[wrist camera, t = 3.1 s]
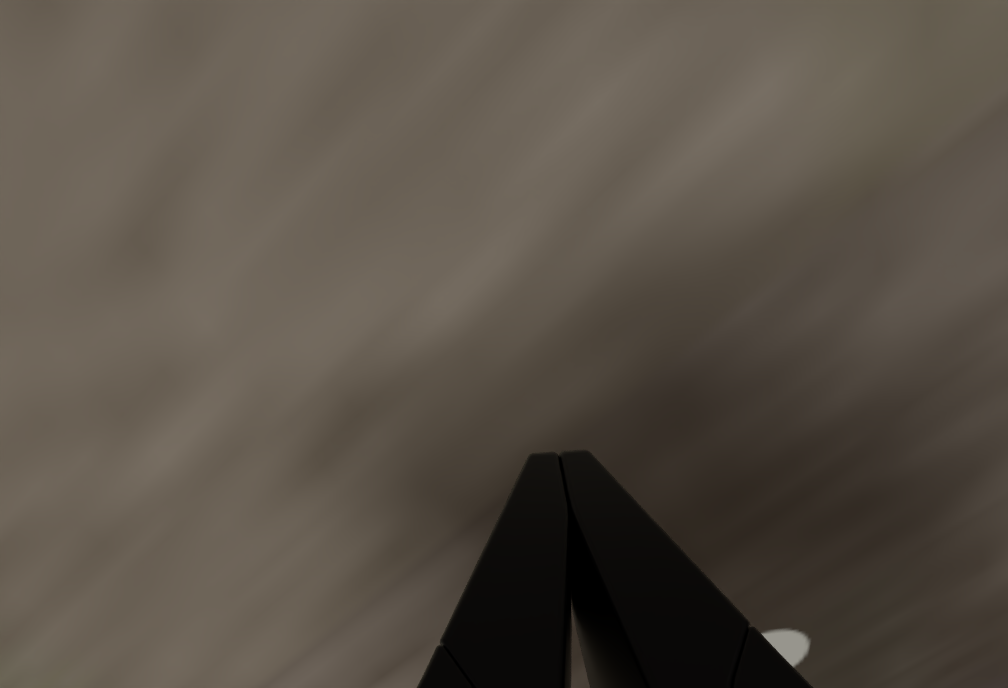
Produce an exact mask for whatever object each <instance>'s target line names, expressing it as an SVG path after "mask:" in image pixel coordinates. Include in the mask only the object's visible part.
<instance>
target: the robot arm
mask: <svg viewBox="0 0 1008 688" xmlns="http://www.w3.org/2000/svg"><path fill="white" fill-rule="evenodd" d="M571 603H572V610H573V615H574V620H575V625H576V630H577V634H578V638H579V642H580V646H581V651H582V655H583V659H584V663H585V668H586V672H587V676H588V680H589V684H590V688H813V687H812V686H811V685H810V684H809V683H808V682H807V681H806V680H805V679H804V678H803V677H802V676H801V675H800V674H799V673H798V672H797V671H796V670H795V669H794V668H793V667H792V666H791V665H790V664H789V663H788V662H787V661H786V660H785V659H784V658H783V657H782V656H781V655H780V654H779V652H778V651H777V650H776V649H775V648H774V647H773V646H772V645H771V644H770V643H769V642H768V641H767V640H766V639H765V638H764V636H763V635H762V634H761V633H760V632H759V631H758V630H757V629H756V628H755V627H749V625H750V624H749V621H748V620H747V619H746V618H745V617H744V615H743V614H742V613H741V612H740V611H739V610H738V609H737V608H736V607H735V606H734V605H733V604H732V603H731V602H730V601H729V600H728V598H727V597H726V596H725V595H724V594H723V593H722V592H721V591H720V590H719V589H718V588H717V587H716V586H715V585H714V584H713V583H712V581H711V580H710V579H709V578H708V577H707V576H706V575H705V574H704V573H703V572H702V571H701V570H700V569H699V568H698V567H697V566H696V564H695V563H694V562H693V561H692V560H691V559H690V558H689V557H688V556H687V555H686V554H685V553H684V552H683V551H682V550H681V548H680V547H679V546H678V545H677V544H676V543H675V542H674V541H673V540H672V539H671V538H670V537H669V536H668V535H667V534H666V533H665V531H664V530H663V529H662V528H661V527H660V526H659V525H658V524H657V523H656V522H655V521H654V520H653V519H652V518H651V517H650V516H649V514H648V513H647V512H646V511H645V510H644V509H643V508H642V507H641V506H640V505H639V504H638V503H637V502H636V501H635V500H634V499H633V497H632V496H631V495H630V494H629V493H628V492H627V491H626V490H625V489H624V488H623V487H622V486H621V485H620V484H619V483H618V482H617V480H616V479H615V478H614V477H613V476H612V475H611V474H610V473H609V472H608V471H607V470H606V469H605V468H604V467H603V466H602V465H601V463H600V462H599V461H598V460H597V459H596V458H595V457H594V456H593V455H592V454H591V453H590V452H589V451H587V450H574V451H563V452H561V453H560V455H559V456H558V454H557V453H556V452H543V453H532V454H530V455H529V456H528V458H527V460H526V462H525V464H524V466H523V468H522V470H521V472H520V474H519V476H518V478H517V481H516V483H515V485H514V487H513V489H512V491H511V493H510V495H509V497H508V499H507V501H506V504H505V506H504V508H503V510H502V512H501V514H500V516H499V518H498V520H497V522H496V525H495V527H494V529H493V531H492V533H491V535H490V537H489V539H488V541H487V543H486V545H485V548H484V550H483V552H482V554H481V556H480V558H479V560H478V562H477V564H476V566H475V569H474V571H473V573H472V575H471V577H470V579H469V581H468V583H467V585H466V587H465V589H464V592H463V594H462V596H461V598H460V600H459V602H458V604H457V606H456V608H455V610H454V613H453V615H452V617H451V619H450V621H449V623H448V625H447V627H446V629H445V631H444V633H443V636H442V638H441V640H440V644H441V645H439V646H437V648H436V649H435V652H434V654H433V656H432V658H431V660H430V662H429V664H428V666H427V668H426V670H425V673H424V675H423V677H422V679H421V680H420V682H419V684H418V686H417V688H571V641H572V623H571Z"/></svg>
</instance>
